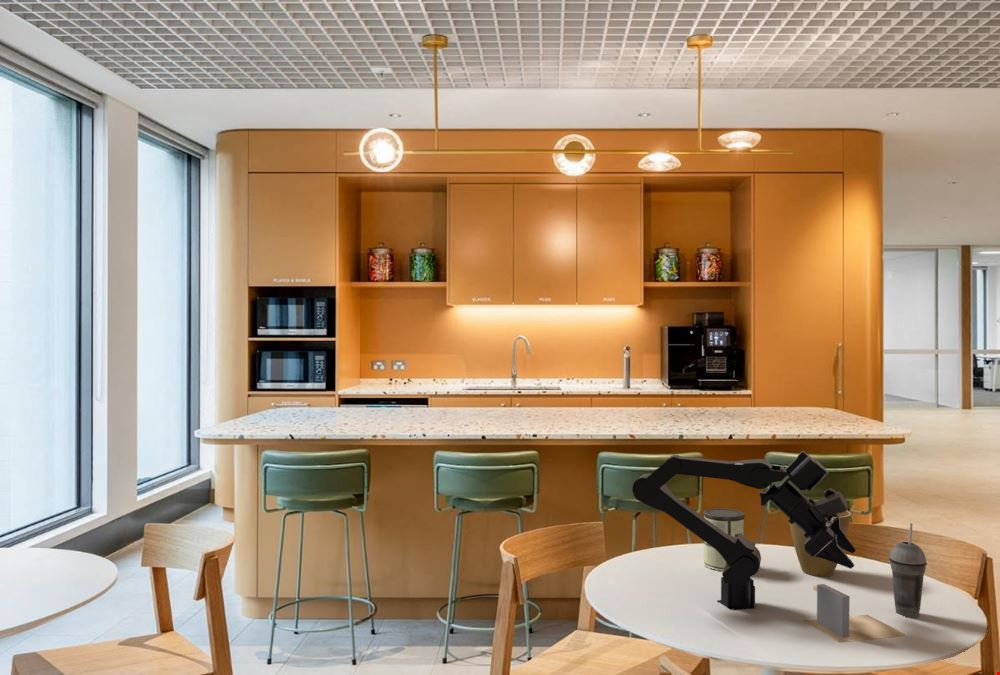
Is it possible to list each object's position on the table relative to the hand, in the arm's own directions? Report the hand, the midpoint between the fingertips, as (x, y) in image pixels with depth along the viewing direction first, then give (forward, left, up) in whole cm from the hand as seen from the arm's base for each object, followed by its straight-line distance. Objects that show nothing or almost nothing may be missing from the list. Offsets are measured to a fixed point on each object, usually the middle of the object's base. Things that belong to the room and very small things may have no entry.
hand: (853, 559), depth 167 cm
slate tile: (-8, -5, -12) cm, 16 cm away
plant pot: (+15, +32, -13) cm, 38 cm away
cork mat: (-3, -5, -13) cm, 14 cm away
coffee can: (-6, +42, -13) cm, 45 cm away
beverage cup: (+15, +1, -13) cm, 20 cm away
